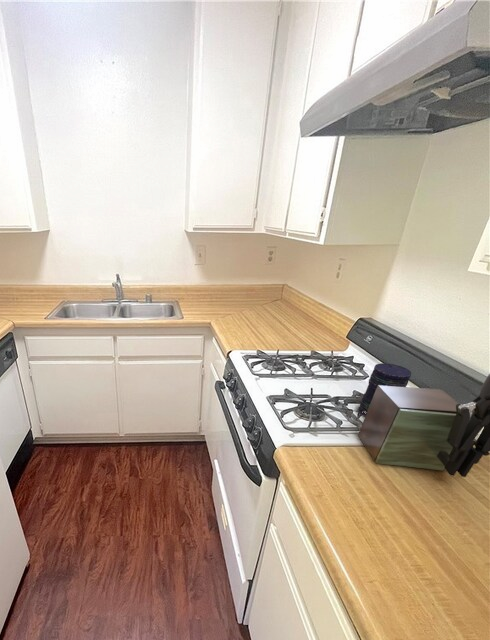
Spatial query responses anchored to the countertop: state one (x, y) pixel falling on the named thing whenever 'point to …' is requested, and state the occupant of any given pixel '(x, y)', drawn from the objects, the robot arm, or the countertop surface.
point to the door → (419, 440)
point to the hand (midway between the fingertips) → (454, 472)
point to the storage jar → (383, 381)
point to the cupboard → (388, 406)
